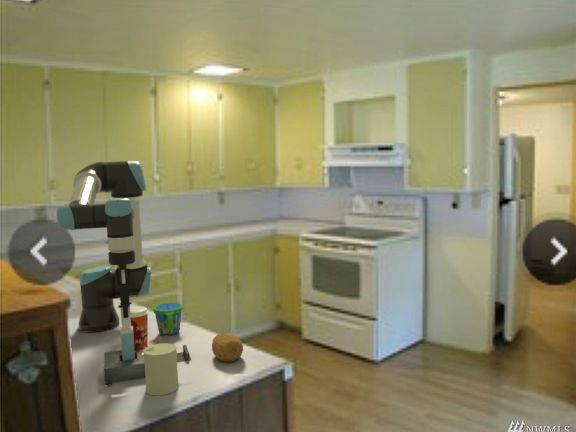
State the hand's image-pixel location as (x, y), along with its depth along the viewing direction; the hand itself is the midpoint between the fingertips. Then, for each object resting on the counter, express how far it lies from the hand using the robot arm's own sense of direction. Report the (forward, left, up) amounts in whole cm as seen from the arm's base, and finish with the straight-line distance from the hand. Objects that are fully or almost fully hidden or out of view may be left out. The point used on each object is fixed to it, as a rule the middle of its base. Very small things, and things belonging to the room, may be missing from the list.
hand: (126, 327), depth 154 cm
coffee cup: (-16, +3, -15) cm, 22 cm away
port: (0, 0, -14) cm, 14 cm away
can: (+15, +8, -15) cm, 22 cm away
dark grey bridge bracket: (-5, +15, -14) cm, 21 cm away
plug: (0, 0, -14) cm, 14 cm away
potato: (+1, +30, -15) cm, 34 cm away
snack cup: (-33, +15, -15) cm, 39 cm away
